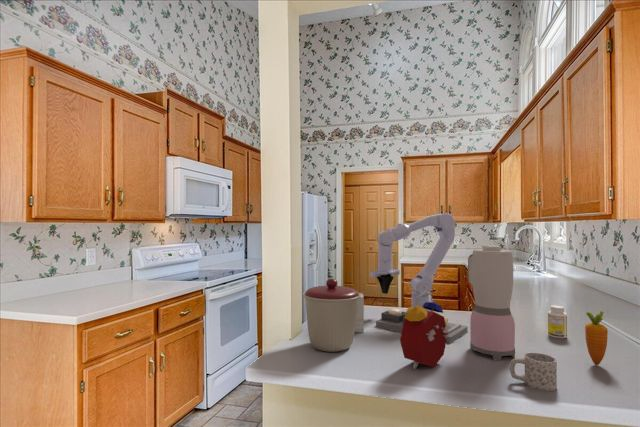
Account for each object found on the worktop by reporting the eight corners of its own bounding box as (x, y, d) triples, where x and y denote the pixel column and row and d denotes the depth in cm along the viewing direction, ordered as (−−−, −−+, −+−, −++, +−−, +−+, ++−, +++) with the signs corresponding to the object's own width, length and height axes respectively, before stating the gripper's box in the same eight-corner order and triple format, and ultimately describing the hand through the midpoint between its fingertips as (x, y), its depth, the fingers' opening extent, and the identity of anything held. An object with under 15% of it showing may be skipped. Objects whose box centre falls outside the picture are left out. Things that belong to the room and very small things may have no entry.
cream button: (392, 313, 142) (392, 307, 142) (404, 315, 139) (404, 310, 139) (385, 315, 138) (385, 310, 138) (397, 317, 135) (397, 312, 135)
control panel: (396, 317, 148) (396, 306, 148) (467, 331, 130) (467, 319, 130) (376, 326, 136) (376, 314, 136) (450, 343, 118) (450, 329, 118)
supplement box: (363, 327, 135) (363, 292, 135) (363, 333, 128) (364, 296, 128) (343, 326, 136) (343, 292, 136) (342, 332, 128) (342, 296, 129)
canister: (295, 340, 119) (296, 275, 120) (346, 335, 125) (346, 273, 126) (312, 360, 102) (313, 285, 103) (370, 353, 108) (371, 282, 109)
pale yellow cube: (436, 328, 126) (436, 316, 126) (447, 330, 124) (447, 318, 124) (431, 330, 123) (431, 318, 123) (443, 333, 121) (443, 321, 121)
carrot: (583, 365, 101) (583, 310, 101) (587, 360, 104) (586, 307, 104) (606, 370, 97) (605, 314, 97) (609, 365, 101) (608, 310, 101)
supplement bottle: (556, 333, 129) (556, 304, 130) (571, 338, 124) (571, 308, 124) (543, 334, 128) (543, 305, 128) (557, 339, 123) (557, 308, 123)
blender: (525, 357, 106) (525, 247, 107) (493, 362, 102) (493, 248, 102) (483, 340, 121) (483, 243, 122) (453, 344, 117) (454, 244, 117)
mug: (550, 381, 91) (550, 354, 91) (561, 393, 84) (561, 364, 84) (506, 376, 93) (506, 350, 93) (513, 387, 87) (513, 359, 87)
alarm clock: (428, 354, 108) (428, 286, 108) (456, 362, 102) (456, 290, 102) (399, 367, 98) (399, 292, 98) (428, 378, 92) (428, 298, 92)
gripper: (378, 262, 144) (377, 296, 143) (404, 260, 151) (404, 293, 151) (366, 260, 150) (366, 293, 149) (393, 258, 157) (392, 290, 157)
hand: (384, 293), depth 151 cm, fingers closed
